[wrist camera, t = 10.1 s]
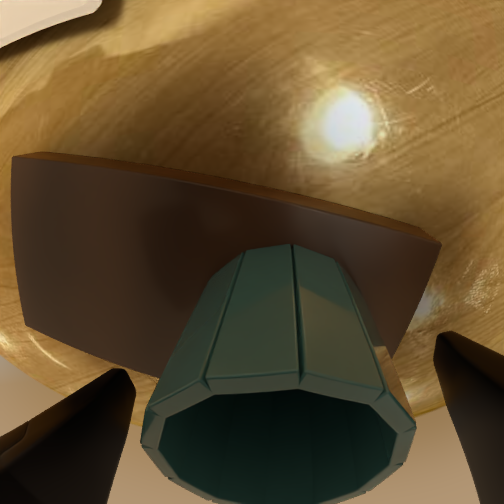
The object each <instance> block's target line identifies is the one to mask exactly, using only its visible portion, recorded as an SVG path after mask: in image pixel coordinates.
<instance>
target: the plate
mask: <svg viewBox="0 0 504 504" xmlns="http://www.w3.org/2000/svg"><path fill="white" fill-rule="evenodd" d="M102 4H103V0H0V48H1V47H3V46H5V45H7V44H9V43H12V42H14V41H16V40H18V39H20V38H23V37H25V36H27V35H30V34H32V33H35V32H37V31H40V30H42V29H45V28H47V27H50V26H53V25H56V24H59V23H62V22H65V21H68V20H71V19H74V18H77V17H80V16H84V15H87V14H91V13H94V12H95V11H96V10H97V9H98V8H99V7H100V6H101V5H102Z"/></svg>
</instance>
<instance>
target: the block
mask: <svg viewBox="0 0 504 504" xmlns="http://www.w3.org/2000/svg"><path fill="white" fill-rule="evenodd" d="M11 221H12V238H13V250H14V260H15V268H16V276H17V283H18V289H19V295H20V301H21V307H22V312H23V317H24V321H25V325H26V326H28V327H30V328H32V329H34V330H36V331H38V332H40V333H43V334H45V335H47V336H49V337H51V338H53V339H56V340H58V341H60V342H62V343H65V344H67V345H69V346H72V347H74V348H76V349H79V350H81V351H84V352H86V353H89V354H91V355H94V356H96V357H99V358H101V359H104V360H107V361H109V362H112V363H115V364H118V365H120V366H123V367H126V368H129V369H132V370H135V371H138V372H141V373H144V374H147V375H150V376H154V377H157V378H160V377H161V375H162V373H163V371H164V369H165V367H166V365H167V363H168V361H169V359H170V357H171V355H172V353H173V350H174V348H175V346H176V344H177V342H178V340H179V338H180V336H181V334H182V332H183V330H184V328H185V326H186V324H187V322H188V320H189V318H190V316H191V314H192V312H193V310H194V308H195V306H196V304H197V302H198V300H199V298H200V296H201V294H202V292H203V290H204V288H205V287H206V285H207V283H208V281H209V280H210V278H211V276H213V275H214V274H215V273H216V272H218V271H219V270H220V269H221V268H223V267H224V266H225V265H226V264H228V263H229V262H230V261H231V260H233V259H234V258H235V257H236V256H238V255H239V254H240V253H241V252H243V253H244V254H245V251H246V250H251V249H258V248H264V247H271V246H278V245H284V244H291V249H292V246H293V245H294V244H295V245H298V246H301V247H304V248H306V249H309V250H312V251H314V252H317V253H320V254H322V255H325V256H328V257H330V258H333V259H335V261H336V262H339V264H340V265H341V266H342V267H343V269H344V270H345V271H346V273H347V274H348V275H349V277H350V278H351V279H352V281H353V282H354V283H355V285H356V286H357V287H358V289H359V290H360V291H361V294H362V296H363V298H364V300H365V302H366V304H367V306H368V308H369V311H370V313H371V315H372V317H373V319H374V321H375V324H376V326H377V328H378V330H379V333H380V335H381V337H382V339H383V342H384V344H385V346H386V349H387V351H388V353H389V356H390V358H391V359H392V357H393V356H394V354H395V352H396V350H397V348H398V346H399V344H400V342H401V340H402V338H403V336H404V334H405V332H406V330H407V328H408V326H409V324H410V322H411V320H412V318H413V315H414V313H415V311H416V309H417V307H418V304H419V302H420V300H421V298H422V295H423V293H424V291H425V288H426V286H427V283H428V281H429V278H430V276H431V273H432V271H433V268H434V266H435V263H436V260H437V258H438V255H439V252H440V249H441V247H442V244H441V243H440V242H439V241H438V240H436V239H435V238H433V237H432V236H431V235H429V234H428V233H426V232H425V231H424V230H422V229H421V228H419V227H416V226H413V225H410V224H407V223H403V222H400V221H396V220H393V219H390V218H386V217H383V216H379V215H376V214H372V213H369V212H365V211H361V210H358V209H354V208H350V207H346V206H343V205H339V204H335V203H331V202H327V201H323V200H319V199H315V198H311V197H307V196H303V195H299V194H295V193H290V192H286V191H282V190H277V189H273V188H268V187H264V186H259V185H255V184H250V183H245V182H240V181H235V180H230V179H225V178H220V177H215V176H210V175H205V174H199V173H194V172H188V171H183V170H177V169H171V168H165V167H159V166H153V165H146V164H140V163H133V162H126V161H119V160H111V159H104V158H96V157H88V156H79V155H70V154H61V153H51V152H36V153H30V154H24V155H18V156H13V157H12V167H11Z"/></svg>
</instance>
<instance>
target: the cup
mask: <svg viewBox="0 0 504 504" xmlns="http://www.w3.org/2000/svg"><path fill="white" fill-rule="evenodd" d="M415 432H416V421H415V419H414V416H413V413H412V411H411V408H410V405H409V403H408V400H407V397H406V395H405V392H404V390H403V387H402V385H401V382H400V380H399V377H398V375H397V372H396V370H395V367H394V365H393V363H392V360H391V358H390V356H389V353H388V351H387V349H386V346H385V344H384V342H383V339H382V337H381V335H380V333H379V330H378V328H377V326H376V324H375V321H374V319H373V317H372V315H371V313H370V311H369V308H368V306H367V304H366V302H365V300H364V298H363V296H362V294H361V291H360V290H359V289H358V287H357V286H356V285H355V283H354V282H353V281H352V279H351V278H350V277H349V275H348V274H347V273H346V271H345V270H344V269H343V267H342V266H341V265H340V264H339V262H336V261H335V259H333V258H330V257H328V256H325V255H322V254H320V253H317V252H314V251H312V250H309V249H306V248H304V247H301V246H298V245H295V244H294V245H293V246H292V249H291V244H284V245H278V246H271V247H264V248H258V249H251V250H246V251H245V254H244V253H243V252H241V253H240V254H239V255H238V256H236V257H235V258H234V259H233V260H231V261H230V262H229V263H228V264H226V265H225V266H224V267H223V268H221V269H220V270H219V271H218V272H216V273H215V274H214V275H213V276H211V278H210V280H209V281H208V283H207V285H206V287H205V288H204V290H203V292H202V294H201V296H200V298H199V300H198V302H197V304H196V306H195V308H194V310H193V312H192V314H191V316H190V318H189V320H188V322H187V324H186V326H185V328H184V330H183V332H182V334H181V336H180V338H179V340H178V342H177V344H176V346H175V348H174V350H173V353H172V355H171V357H170V359H169V361H168V363H167V365H166V367H165V369H164V371H163V373H162V375H161V377H160V379H159V381H158V383H157V385H156V388H155V390H154V392H153V394H152V396H151V398H150V400H149V402H148V404H147V406H146V409H145V414H144V420H143V426H142V433H141V440H140V443H141V444H142V448H143V449H144V451H145V452H146V453H147V455H148V456H149V457H150V459H151V460H152V461H153V463H154V464H155V465H156V466H157V468H158V469H159V470H160V471H161V473H162V474H163V475H164V476H165V477H168V479H169V480H170V481H172V482H174V483H176V484H177V485H179V486H181V487H183V488H185V489H186V490H188V491H190V492H192V493H194V494H196V495H198V496H200V497H202V498H204V499H206V500H212V502H214V503H218V504H337V503H340V502H342V501H345V500H348V499H351V498H354V497H357V496H359V495H362V494H365V493H366V491H371V490H372V489H373V488H375V487H376V486H377V485H379V484H380V483H381V482H382V481H384V480H385V479H386V478H388V477H389V476H390V475H391V474H393V473H394V472H395V471H396V470H398V469H399V468H400V467H401V466H402V465H403V463H404V462H405V461H406V459H407V457H408V453H409V451H410V448H411V445H412V442H413V438H414V435H415Z"/></svg>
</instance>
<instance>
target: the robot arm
mask: <svg viewBox="0 0 504 504" xmlns="http://www.w3.org/2000/svg"><path fill="white" fill-rule="evenodd" d="M433 362H434V366H435V369H436V372H437V376H438V379H439V382H440V385H441V389H442V392H443V396H444V399H445V402H446V406H447V408H448V411H449V414H450V416H451V419H452V421H453V424H454V426H455V429H456V432H457V434H458V437H459V440H460V442H461V445H462V448H463V451H464V453H465V456H466V459H467V462H468V465H469V468H470V471H471V474H472V477H473V480H474V484H475V487H476V490H477V494H478V497H479V501H480V504H504V356H503V355H501V354H499V353H497V352H495V351H493V350H491V349H489V348H487V347H485V346H483V345H480V344H478V343H476V342H474V341H472V340H470V339H468V338H466V337H464V336H462V335H460V334H458V333H456V332H454V331H446V332H442V333H439V334H438V335H437V338H436V344H435V350H434V356H433ZM135 398H136V389H135V387H134V385H133V383H132V381H131V379H130V377H129V375H128V373H127V372H126V371H125V370H124V369H119V368H113V369H111V370H109V371H107V372H106V373H104V374H103V375H101V376H100V377H98V378H96V379H95V380H93V381H92V382H90V383H89V384H87V385H85V386H84V387H82V388H81V389H79V390H77V391H76V392H74V393H73V394H71V395H69V396H68V397H66V398H65V399H63V400H61V401H60V402H58V403H57V404H55V405H53V406H52V407H50V408H49V409H47V410H45V411H44V412H42V413H40V414H39V415H37V416H35V417H34V418H32V419H31V420H29V421H27V422H25V423H24V424H22V425H20V426H19V427H17V428H15V429H14V430H12V431H10V432H8V433H6V434H4V435H3V436H1V437H0V504H107V501H108V498H109V494H110V491H111V487H112V484H113V480H114V477H115V474H116V470H117V467H118V464H119V460H120V457H121V453H122V451H123V448H124V444H125V441H126V438H127V434H128V430H129V425H130V421H131V416H132V411H133V407H134V402H135Z"/></svg>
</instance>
